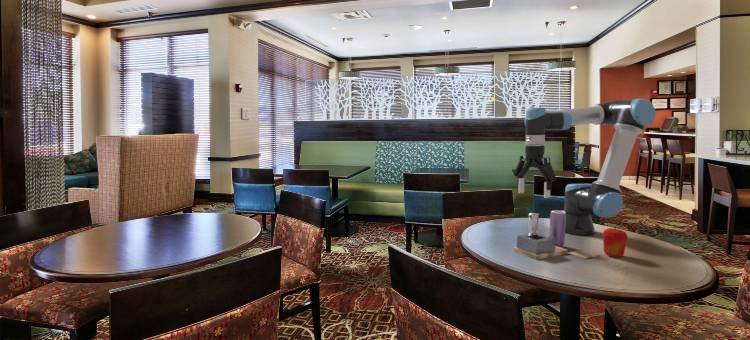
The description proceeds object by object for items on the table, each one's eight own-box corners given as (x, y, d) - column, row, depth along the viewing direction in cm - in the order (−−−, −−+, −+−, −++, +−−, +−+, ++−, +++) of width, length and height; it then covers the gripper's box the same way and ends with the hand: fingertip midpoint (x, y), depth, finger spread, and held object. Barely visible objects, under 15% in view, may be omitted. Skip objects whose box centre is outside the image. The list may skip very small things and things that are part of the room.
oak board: (543, 245, 174) (543, 242, 174) (567, 253, 164) (567, 249, 164) (513, 250, 167) (513, 247, 167) (536, 259, 156) (536, 255, 156)
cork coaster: (581, 251, 167) (581, 249, 166) (597, 256, 160) (597, 254, 160) (569, 253, 164) (569, 252, 163) (585, 258, 157) (585, 257, 157)
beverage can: (565, 249, 170) (567, 213, 168) (550, 248, 171) (552, 212, 169) (562, 244, 175) (564, 210, 174) (547, 244, 177) (549, 209, 175)
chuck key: (533, 240, 183) (535, 212, 181) (540, 242, 179) (541, 214, 178) (524, 241, 180) (525, 213, 179) (531, 243, 177) (532, 215, 176)
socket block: (535, 244, 171) (535, 232, 170) (554, 251, 162) (555, 238, 161) (516, 247, 167) (517, 235, 166) (536, 254, 158) (536, 241, 157)
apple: (630, 259, 157) (632, 229, 156) (608, 259, 157) (610, 228, 156) (618, 252, 165) (620, 223, 164) (597, 252, 166) (599, 223, 164)
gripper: (506, 144, 181) (505, 191, 184) (553, 146, 159) (552, 200, 162) (518, 143, 184) (517, 190, 187) (567, 145, 162) (565, 198, 165)
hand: (533, 195), depth 174 cm, fingers open, 13 cm apart
